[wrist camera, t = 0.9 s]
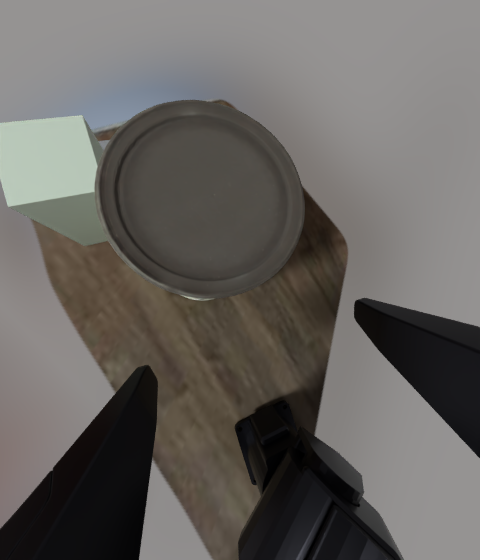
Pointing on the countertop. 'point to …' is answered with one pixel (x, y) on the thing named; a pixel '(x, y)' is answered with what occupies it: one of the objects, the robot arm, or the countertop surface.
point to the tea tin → (53, 174)
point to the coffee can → (199, 199)
